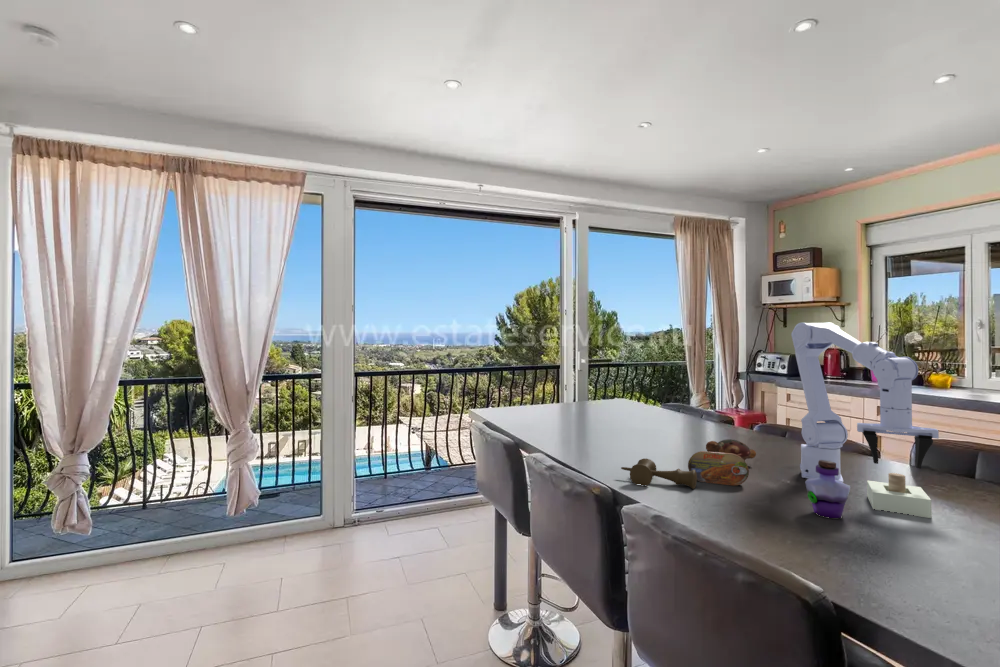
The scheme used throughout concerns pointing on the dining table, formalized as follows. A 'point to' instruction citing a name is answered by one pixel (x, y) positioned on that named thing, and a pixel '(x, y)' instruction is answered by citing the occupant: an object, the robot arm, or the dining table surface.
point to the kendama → (660, 474)
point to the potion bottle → (827, 491)
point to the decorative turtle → (731, 448)
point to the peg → (897, 482)
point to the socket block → (899, 499)
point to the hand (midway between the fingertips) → (896, 465)
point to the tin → (719, 468)
